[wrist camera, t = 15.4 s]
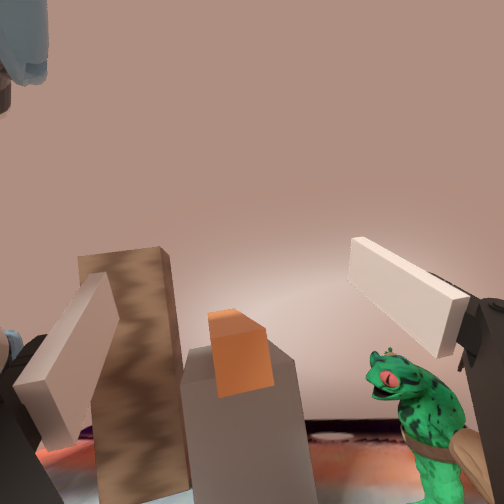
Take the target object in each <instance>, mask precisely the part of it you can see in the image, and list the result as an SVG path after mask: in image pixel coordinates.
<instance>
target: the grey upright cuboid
mask: <svg viewBox="0 0 504 504" xmlns="http://www.w3.org/2000/svg"><path fill="white" fill-rule="evenodd" d="M267 341H268V347H269V353H270V360H271V366H272V372H273V379H274V386H269V387H265V388H261V389H256V390H252V391H248V392H243V393H239V394H235V395H230V396H226V397H222V398H218V391H217V384H216V376H215V369H214V362H213V354H212V347H211V345H210V346H206V347H200V348H195V349H190V350H189V353H188V357H187V360H186V364H185V368H184V372H183V375H182V379H181V383H180V390H181V398H182V406H183V414H184V422H185V431H186V439H187V447H188V455H189V463H190V471H191V480H192V488H193V496H194V504H318V499H317V493H316V487H315V481H314V475H313V469H312V463H311V457H310V451H309V445H308V439H307V433H306V427H305V421H304V416H303V410H302V403H301V397H300V391H299V386H298V379H297V374H296V368H295V361H294V360H293V359H292V358H291V357H289V356H288V355H287V354H286V353H284V352H283V351H282V350H280V349H279V348H278V347H277V346H275V345H274V344H273V343H272V342H270V341H269V340H268V339H267Z"/></svg>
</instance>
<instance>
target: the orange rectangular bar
mask: <svg viewBox="0 0 504 504" xmlns="http://www.w3.org/2000/svg"><path fill="white" fill-rule="evenodd" d="M208 322H209V331H210V339H211V347H212V354H213V362H214V369H215V376H216V384H217V391H218V398H222V397H226V396H230V395H235V394H239V393H243V392H248V391H252V390H256V389H261V388H265V387H269V386H274V379H273V372H272V366H271V360H270V353H269V347H268V341H267V335H266V329H265V328H264V327H263V326H261V325H259V324H258V323H256V322H255V321H253V320H251V319H250V318H248V317H247V316H245V315H244V314H242V313H240V312H239V311H237V310H236V309H228V310H223V311H217V312H211V313H208Z"/></svg>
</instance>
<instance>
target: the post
mask: <svg viewBox="0 0 504 504" xmlns="http://www.w3.org/2000/svg"><path fill="white" fill-rule="evenodd" d="M78 266H79V278H80V286H81V285H82V284H83V282H84V281H85V279H86V278H87V276H88V275H89V274H93V273H101V272H106V273H107V277H108V280H109V284H110V287H111V291H112V294H113V297H114V301H115V304H116V308H117V311H118V315H119V318H120V319H119V322H118V325H117V327H116V330H115V333H114V336H113V339H112V342H111V345H110V347H109V350H108V353H107V356H106V359H105V362H104V365H103V368H102V370H101V373H100V376H99V379H98V382H97V385H96V388H95V390H94V393H93V396H92V399H91V414H92V425H93V436H94V448H95V459H96V470H97V482H98V493H99V504H140V503H144V502H147V501H151V500H154V499H158V498H161V497H165V496H169V495H172V494H176V493H179V492H183V491H186V490H189V487H190V474H191V471H190V463H189V455H188V447H187V439H186V431H185V422H184V414H183V406H182V398H181V390H180V383H181V379H182V375H183V372H184V370H183V362H182V354H181V346H180V338H179V330H178V322H177V314H176V306H175V298H174V289H173V281H172V273H171V266H170V257H169V255H168V254H167V253H166V252H165V251H164V250H163V249H162V248H161V247H152V248H143V249H135V250H127V251H119V252H111V253H104V254H95V255H87V256H79V257H78Z"/></svg>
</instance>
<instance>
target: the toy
mask: <svg viewBox="0 0 504 504" xmlns="http://www.w3.org/2000/svg"><path fill="white" fill-rule="evenodd" d="M388 350H389V352H385V355H384V356H380V355H379V354H378V353H377V352H376V351H374V352H372V353H371V355H370V365H371V369H370V371H369V372H368V373H367V375H366V380H367V381H369V382H370V383H372V384H373V385H374V390H373V394H372V398H374V399H377V400H400V402H399V405H398V416H399V419H400V421H401V432H402V437H403V439H404V441H405V443H406V444H407V445H408V447H410V449H411V450H412V452H413V453H414V454H415V462H416V467H417V470H418V471H419V473H420V478H421V483H422V486H423V489H424V492H425V499H423V500H421V501H419V502H415V503H408V504H464V490H463V486H462V483H461V480H460V473H461V469H462V471H463V472H464V473H465V475H466V476H467V477H468V479H469V480H470V481H471V483H472V484H473V486H474V487H475V488H476V490H477V491H478V492H479V493H480V494H481V495H482V497H483V498H484V499H485V500H486V501H487V503H488V504H495V501H494V497H493V492H492V488H491V483H490V479H489V474H488V470H487V465H486V461H485V456H484V452H483V447H482V443H481V438H480V434H479V433H478V432H476V431H474V430H471V429H465V428H463V426H464V424H465V422H466V421H465V414H464V411H463V409H462V407H461V405H460V403H459V401H458V399H457V397H456V395H455V394H454V393H453V392H452V391H451V390H450V389H449V388H448V387H447V386H446V385H445V384H444V383H443V382H442V381H441V380H440V379H439V378H438V377H436V376H435V375H433V374H432V373H430V372H429V371H427V370H425V369H423V368H421V367H419V366H416V365H414V364H413V363H411V362H410V361H408V360H407V359H406V358H404V357H403V356H400V355H396V354H394V353H392V348H389V349H388Z"/></svg>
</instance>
